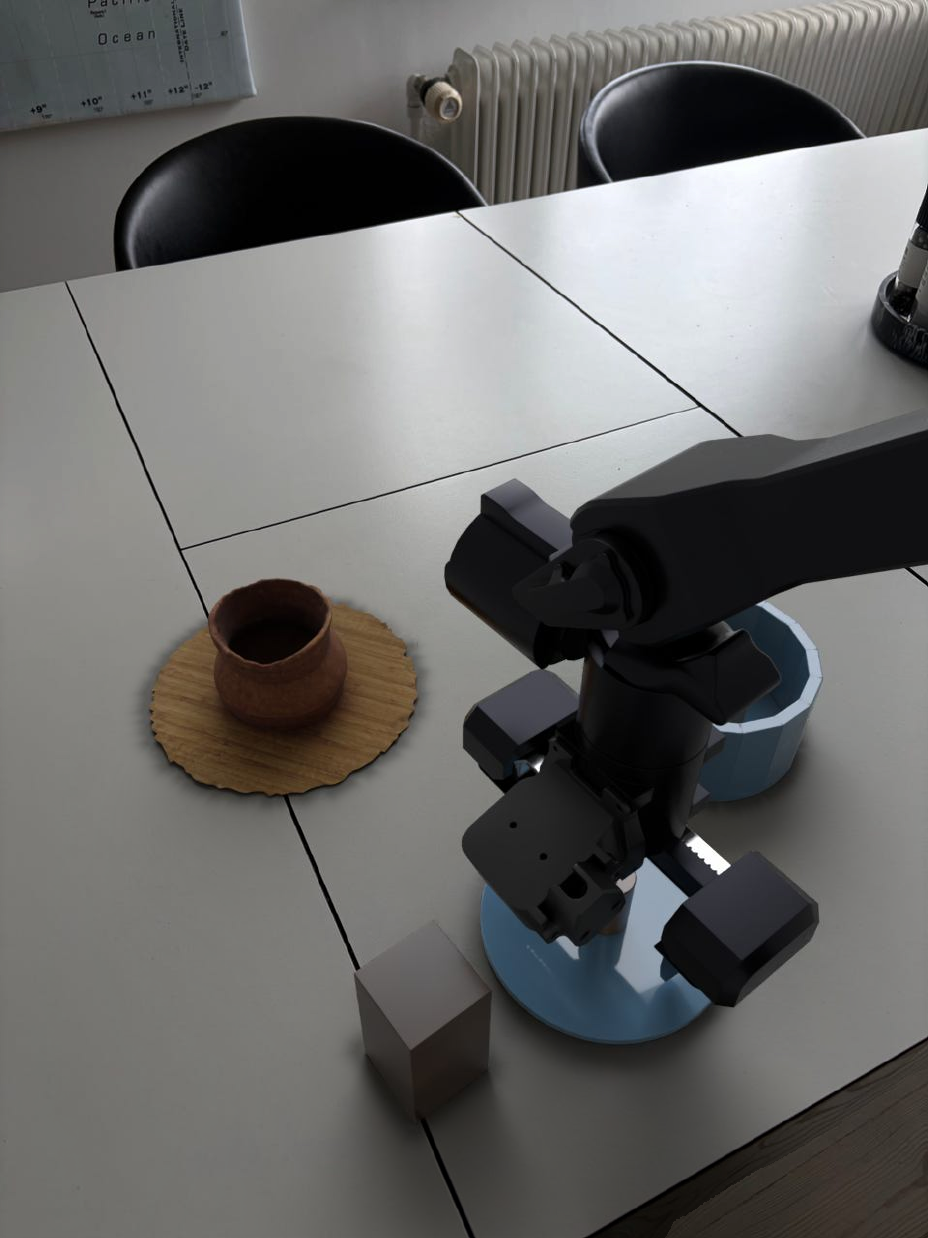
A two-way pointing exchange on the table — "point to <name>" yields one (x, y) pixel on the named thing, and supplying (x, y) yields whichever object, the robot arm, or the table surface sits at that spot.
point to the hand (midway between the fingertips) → (607, 910)
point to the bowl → (767, 709)
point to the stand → (424, 1019)
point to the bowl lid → (597, 968)
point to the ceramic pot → (282, 691)
